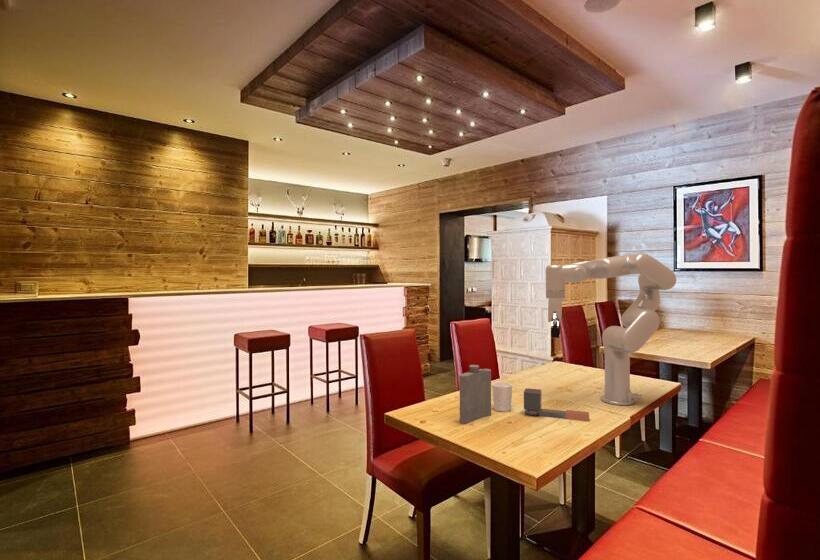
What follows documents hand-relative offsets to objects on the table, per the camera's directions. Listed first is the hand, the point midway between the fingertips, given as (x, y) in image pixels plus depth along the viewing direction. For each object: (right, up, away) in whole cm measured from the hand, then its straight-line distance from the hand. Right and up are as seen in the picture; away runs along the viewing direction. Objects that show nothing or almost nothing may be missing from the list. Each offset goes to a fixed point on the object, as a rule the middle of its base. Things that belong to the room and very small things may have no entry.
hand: (555, 335), depth 173 cm
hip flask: (-36, -29, -16) cm, 49 cm away
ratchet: (-5, -29, -14) cm, 33 cm away
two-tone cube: (-13, -26, -12) cm, 31 cm away
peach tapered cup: (-23, -29, -5) cm, 38 cm away
